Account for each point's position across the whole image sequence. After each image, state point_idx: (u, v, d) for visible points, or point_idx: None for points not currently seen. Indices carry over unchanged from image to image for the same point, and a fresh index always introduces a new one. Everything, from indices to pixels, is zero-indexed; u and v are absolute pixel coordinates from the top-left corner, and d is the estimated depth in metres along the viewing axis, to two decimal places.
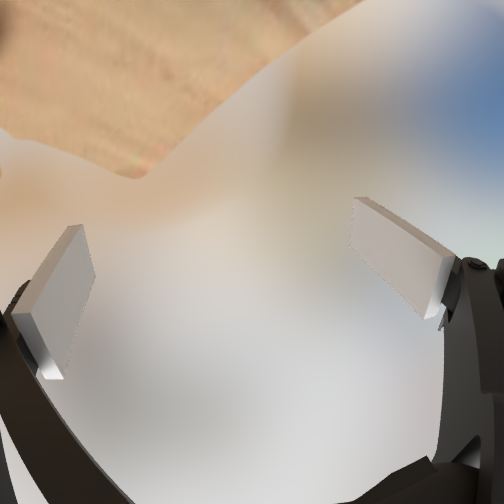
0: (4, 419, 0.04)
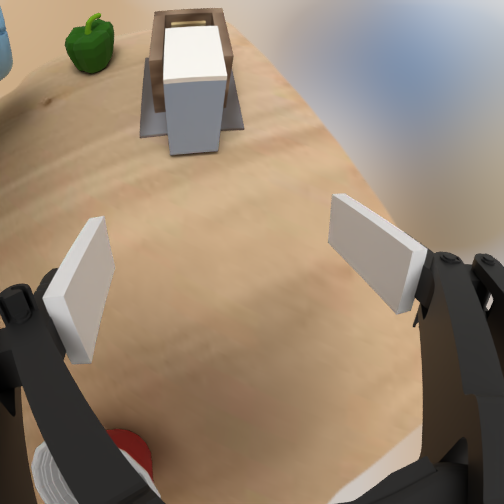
0: (30, 402, 0.05)
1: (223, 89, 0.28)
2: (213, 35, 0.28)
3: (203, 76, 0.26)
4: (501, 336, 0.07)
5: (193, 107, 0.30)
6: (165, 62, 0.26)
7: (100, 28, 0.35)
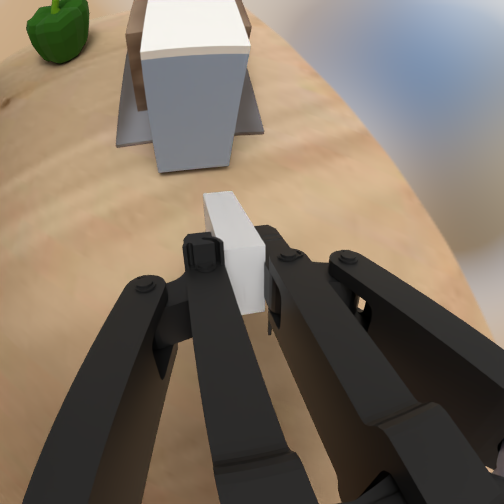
0: (195, 343, 0.07)
1: (242, 69, 0.16)
2: None
3: (209, 46, 0.14)
4: (394, 346, 0.08)
5: (191, 99, 0.18)
6: (145, 27, 0.14)
7: (70, 5, 0.23)
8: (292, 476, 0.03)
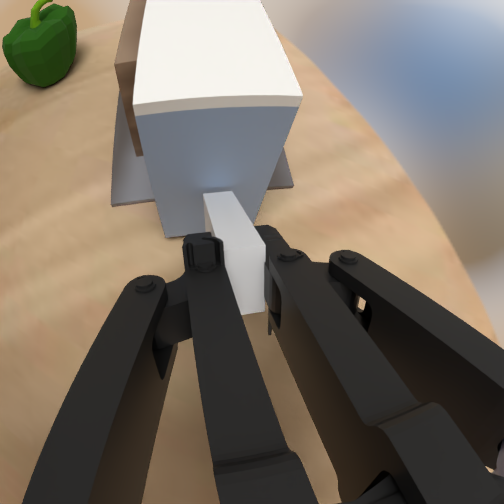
0: (195, 343, 0.07)
1: (286, 127, 0.12)
2: (249, 3, 0.12)
3: (241, 94, 0.10)
4: (394, 346, 0.08)
5: (210, 164, 0.14)
6: (141, 58, 0.10)
7: (53, 16, 0.19)
8: (292, 476, 0.03)
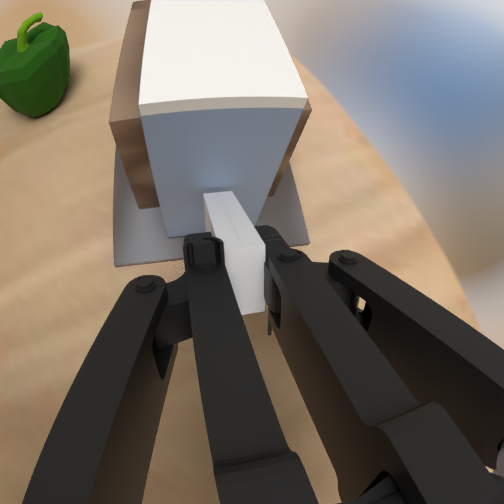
0: (195, 343, 0.07)
1: (290, 128, 0.12)
2: (254, 4, 0.13)
3: (247, 95, 0.10)
4: (394, 346, 0.08)
5: (214, 164, 0.14)
6: (146, 58, 0.10)
7: (42, 39, 0.18)
8: (292, 476, 0.03)
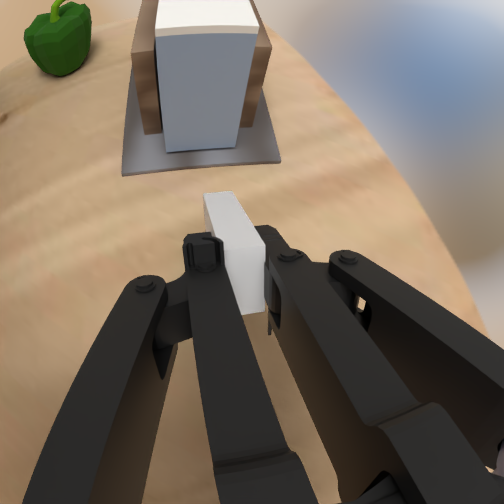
0: (195, 343, 0.07)
1: (251, 49, 0.17)
2: None
3: (220, 25, 0.15)
4: (394, 346, 0.08)
5: (201, 77, 0.18)
6: (160, 9, 0.15)
7: (71, 13, 0.22)
8: (292, 476, 0.03)
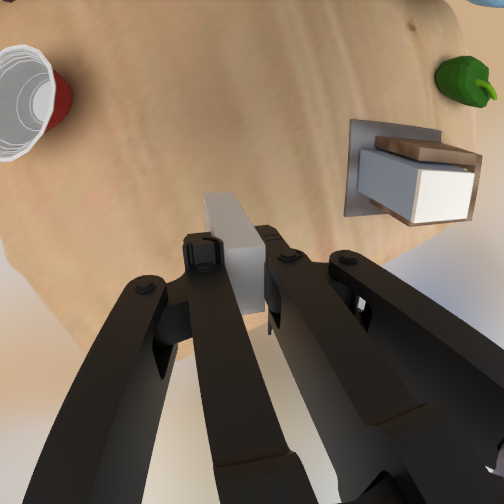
0: (195, 343, 0.07)
1: (404, 215, 0.33)
2: (457, 214, 0.33)
3: (417, 203, 0.31)
4: (394, 346, 0.08)
5: (395, 185, 0.34)
6: (438, 172, 0.29)
7: (479, 95, 0.33)
8: (292, 476, 0.03)
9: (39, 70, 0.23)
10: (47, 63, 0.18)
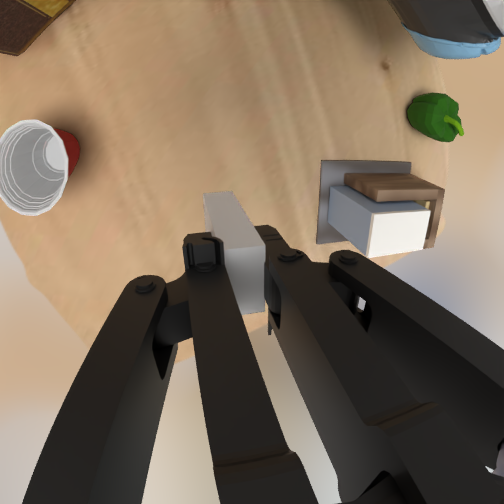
0: (195, 343, 0.07)
1: (361, 250, 0.41)
2: (412, 247, 0.41)
3: (370, 242, 0.38)
4: (394, 346, 0.08)
5: (355, 223, 0.42)
6: (391, 214, 0.37)
7: (447, 131, 0.40)
8: (292, 476, 0.03)
9: None
10: (59, 139, 0.26)
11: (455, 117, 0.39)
